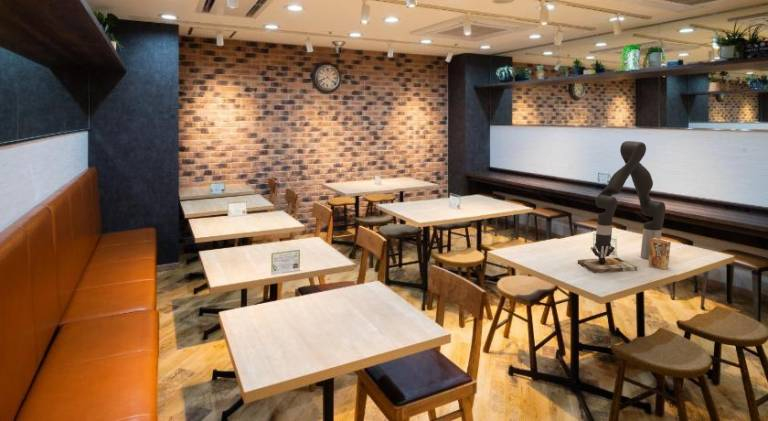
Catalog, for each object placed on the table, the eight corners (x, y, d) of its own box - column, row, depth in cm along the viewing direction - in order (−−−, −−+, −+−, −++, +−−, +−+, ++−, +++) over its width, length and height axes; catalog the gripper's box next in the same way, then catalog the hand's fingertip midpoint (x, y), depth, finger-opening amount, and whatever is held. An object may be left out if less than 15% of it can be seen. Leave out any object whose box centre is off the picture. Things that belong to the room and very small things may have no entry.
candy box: (668, 268, 259) (671, 240, 256) (664, 269, 257) (667, 242, 254) (651, 264, 266) (654, 237, 263) (647, 265, 264) (650, 238, 261)
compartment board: (617, 261, 273) (617, 255, 272) (636, 270, 256) (637, 264, 256) (577, 263, 270) (578, 257, 269) (594, 272, 253) (594, 266, 253)
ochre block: (611, 263, 263) (612, 258, 262) (618, 266, 257) (618, 261, 256) (601, 263, 262) (601, 258, 261) (607, 267, 256) (608, 261, 255)
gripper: (611, 230, 260) (608, 261, 263) (588, 231, 258) (586, 262, 262) (619, 233, 252) (617, 265, 256) (596, 235, 251) (593, 266, 254)
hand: (601, 264), depth 259 cm, fingers closed
